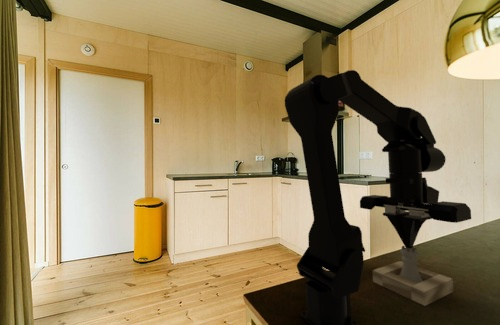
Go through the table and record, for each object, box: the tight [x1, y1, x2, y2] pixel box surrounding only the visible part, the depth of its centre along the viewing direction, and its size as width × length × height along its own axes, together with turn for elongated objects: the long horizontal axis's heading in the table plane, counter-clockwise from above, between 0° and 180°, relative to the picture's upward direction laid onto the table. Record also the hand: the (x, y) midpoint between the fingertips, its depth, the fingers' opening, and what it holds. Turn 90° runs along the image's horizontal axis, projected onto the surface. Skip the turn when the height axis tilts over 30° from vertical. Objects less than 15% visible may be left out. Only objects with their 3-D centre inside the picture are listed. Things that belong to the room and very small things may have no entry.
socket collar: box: [372, 260, 454, 307], centre depth 47 cm, size 10×10×2 cm
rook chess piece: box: [399, 245, 423, 283], centre depth 47 cm, size 4×4×8 cm
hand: (409, 247), depth 47 cm, fingers closed, pressing on rook chess piece
